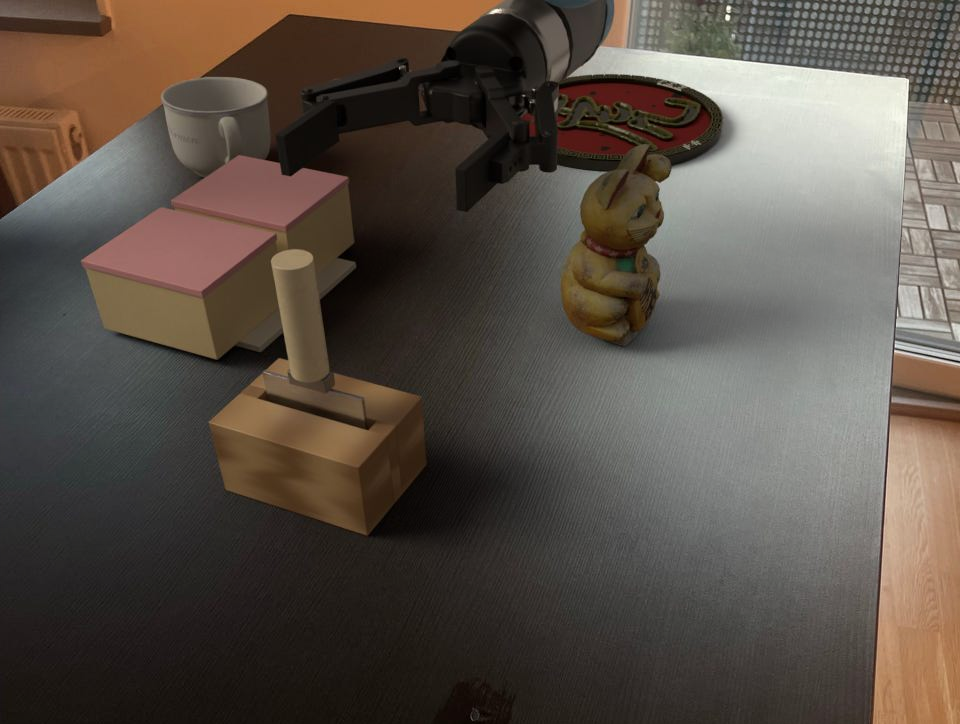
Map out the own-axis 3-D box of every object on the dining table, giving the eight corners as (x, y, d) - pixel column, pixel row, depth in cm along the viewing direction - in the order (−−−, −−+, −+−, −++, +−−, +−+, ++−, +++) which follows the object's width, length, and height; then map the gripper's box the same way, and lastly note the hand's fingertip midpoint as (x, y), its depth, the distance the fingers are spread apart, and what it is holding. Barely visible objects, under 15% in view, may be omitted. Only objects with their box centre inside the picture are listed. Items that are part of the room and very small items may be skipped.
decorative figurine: (631, 364, 85) (650, 183, 74) (539, 343, 88) (544, 164, 77) (667, 308, 91) (690, 132, 80) (580, 290, 94) (590, 116, 82)
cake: (87, 330, 90) (62, 255, 85) (236, 221, 104) (222, 151, 99) (238, 372, 85) (221, 296, 80) (373, 252, 99) (366, 180, 94)
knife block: (225, 490, 75) (207, 422, 71) (291, 424, 80) (278, 357, 76) (367, 536, 71) (358, 467, 67) (427, 464, 77) (422, 396, 72)
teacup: (179, 153, 115) (161, 76, 109) (276, 144, 117) (264, 67, 111) (177, 208, 106) (158, 127, 100) (283, 198, 107) (270, 117, 101)
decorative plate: (682, 176, 106) (466, 136, 114) (681, 187, 107) (466, 147, 115) (750, 92, 122) (555, 62, 129) (748, 102, 122) (555, 72, 130)
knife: (272, 473, 76) (226, 255, 64) (291, 453, 78) (250, 237, 65) (365, 502, 74) (336, 282, 61) (383, 481, 76) (359, 262, 63)
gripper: (650, 139, 80) (541, 263, 67) (371, 93, 88) (225, 195, 75) (661, 32, 74) (543, 144, 62) (362, -8, 82) (203, 84, 69)
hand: (369, 172), depth 68 cm, fingers open, 13 cm apart
